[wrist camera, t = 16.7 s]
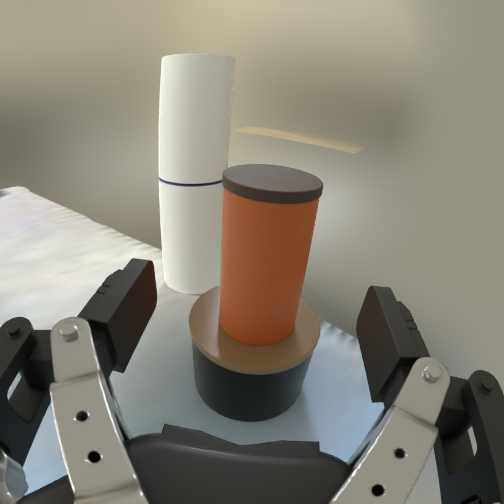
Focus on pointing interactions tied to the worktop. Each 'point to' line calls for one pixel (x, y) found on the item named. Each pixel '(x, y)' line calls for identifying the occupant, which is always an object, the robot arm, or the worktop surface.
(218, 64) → the cylindrical container
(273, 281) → the orange tin
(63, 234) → the worktop surface
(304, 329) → the black canister
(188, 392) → the worktop surface
